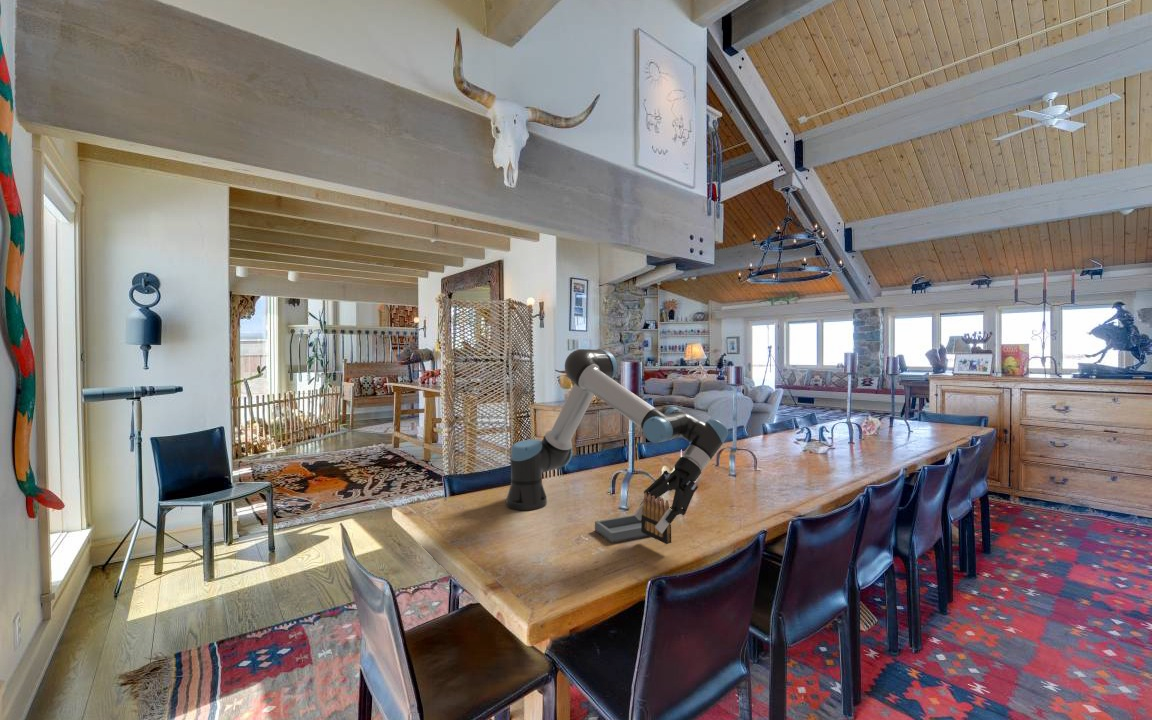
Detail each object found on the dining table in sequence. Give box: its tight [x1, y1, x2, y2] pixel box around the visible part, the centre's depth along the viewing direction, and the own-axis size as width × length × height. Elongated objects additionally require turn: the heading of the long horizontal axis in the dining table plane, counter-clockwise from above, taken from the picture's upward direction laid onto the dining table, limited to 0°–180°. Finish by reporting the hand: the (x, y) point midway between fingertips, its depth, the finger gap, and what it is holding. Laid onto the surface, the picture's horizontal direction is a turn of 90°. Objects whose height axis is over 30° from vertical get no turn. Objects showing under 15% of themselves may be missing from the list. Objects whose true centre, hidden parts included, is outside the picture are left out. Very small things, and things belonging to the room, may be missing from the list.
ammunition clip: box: [641, 492, 672, 545], centre depth 132 cm, size 11×2×12 cm, turn 34°
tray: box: [594, 514, 649, 544], centre depth 145 cm, size 11×20×3 cm, turn 115°
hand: (647, 523), depth 131 cm, fingers closed on ammunition clip, 10 cm apart
